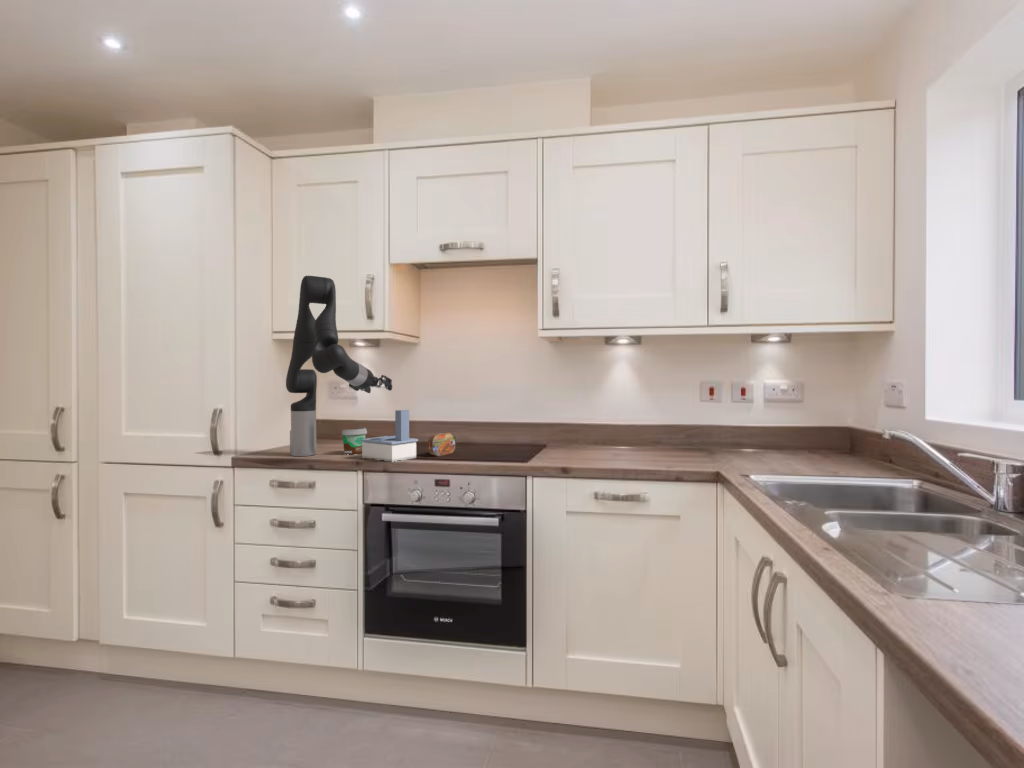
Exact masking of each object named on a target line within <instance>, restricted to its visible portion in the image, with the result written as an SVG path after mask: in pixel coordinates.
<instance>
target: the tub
mask: <svg viewBox="0 0 1024 768" xmlns="http://www.w3.org/2000/svg"><path fill="white" fill-rule="evenodd" d="M361 456H362V457H361V458H362V459H364V458H375V459H379V460H378V461H380V460H384V461H383V462H389V463H395V462H398V461H397V460H401V461H405V460H412V459H417V441H414V442H407V443H400V444H393V445H390V444H381V443H371V442H362V454H361ZM394 461H395V462H394Z"/></svg>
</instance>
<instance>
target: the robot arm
mask: <svg viewBox="0 0 1024 768" xmlns="http://www.w3.org/2000/svg"><path fill="white" fill-rule="evenodd" d="M336 295H337V292H336V284H335V282H334V280H333V279H332V278H330V277H325V276H314V275H305V276H303V278H302V279H301V283H300V288H299V299H298V301H299V302H298V311H297V313H298V314H297V319H296V323H295V330H294V335H293V342H292V350H291V351H292V352H291V357H290V360H289V361H290V362H289V365H288V368H287V369H288V370H287V373H286V376H285V377H286V379H285V386H286V387H285V388H286V390H287V391H288V393H291V394H306V395H305V396H304V397H303V398H301V399H299V400H297V401H294V402H292V403H291V404H290V430H289V455H290V456H293V457H306V456H307V457H309V456H315V455H317V387H318V386H317V385H318V383H317V382H318V380H317V379H318V378H317V377H318V375H317V372H318V373H321V374H327V373H329V372H331V371H333V373H334V375H336V376H337V377H339V378H341V379H342V380H344V382H346V383H348V387H349V388H351V389H352V390H354V391H355V392H358V391H361V392H365V393H368V394H371V391H372V389H371V388H377V389H381V388H384V389H386V390H387V391H392V390H393V385H392V383H393V382H392V381H393V380H392V379H391V378H390V377H388V376H387V375H385V374H381V377H379V376H378V377H377V376H376V375H374V374H373V372H372V371H371V370H370V369H368V367H366V366H364V365H362V364H361V363H359V362H357V361H355V360H354V359H352V358H351V357H350V356H349V354H348V353H347V352H346V350H345V348H344V346H343V345H341V344H339V334H338V333H339V332H338V327H337V320H336V318H337V317H336V315H337V300H336V299H337V296H336ZM310 304H319V305H325V307H324V308H323V310H322V311H321V313H319V314H318V316H317V317H316V318H315V316H314V315H313V313H312V311H311V307H310ZM310 359H311V363H312V366H313V367H314V369H315V370H316V371H317V372H316V371H315V370H314V369H310V368H309V369H307V368H305V369H304V368H302V367H303V366H304V364H305V363H306V362H308V361H309V360H310Z"/></svg>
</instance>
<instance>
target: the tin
mask: <svg viewBox="0 0 1024 768" xmlns="http://www.w3.org/2000/svg"><path fill="white" fill-rule="evenodd" d="M456 447H457V439H456V436H455V435H454V433H453V432H450V431H449V432H443V433H441V432H440V433H436V434H432V435H431V436H430V437H429V438H428V441H427V448H428V452H429V454H430V455H432V457H433V456H435V457H442V456H446V455H451V454H453V453H454V451H455V450H456Z"/></svg>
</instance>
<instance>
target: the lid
mask: <svg viewBox="0 0 1024 768" xmlns="http://www.w3.org/2000/svg"><path fill="white" fill-rule="evenodd" d="M394 414H395V415H394V416H395V419H394V420H395V421H394V422H395V427H394V429H395V431H394V433H395V434H394V435H390V436H389V435H384V436H377V437H376V436H375V437H369V438H368V437H367V438H365V439H360V441H361V442H371V443H381V444H390V445H393V444H400V443H407V442H419V438H414V437H410V410H409V409H398V410H397V409H396V410H395V412H394Z"/></svg>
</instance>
